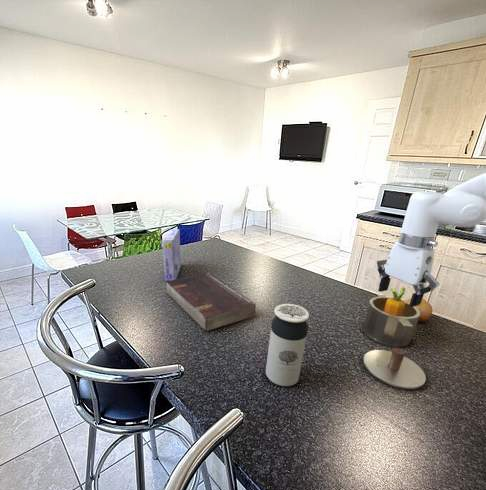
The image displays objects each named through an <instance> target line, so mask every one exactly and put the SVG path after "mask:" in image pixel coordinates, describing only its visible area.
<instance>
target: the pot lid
mask: <svg viewBox="0 0 486 490" xmlns="http://www.w3.org/2000/svg"><path fill="white" fill-rule="evenodd" d="M405 355H406V351H405V350H403V349H402V348H401V347H393V348H392V351H390V350H385V349H373V350H369V351H367V352H366V353H365V354H364V355H363V359H362V363H363V367H365V369H366V370H367V371H368V373H369V374H370V375H372V376H373V377H375V378H376V379H377V380H378V381H380V382H382V383H384V384H386V385H389V386H391V387H393V388H397V389H402V390H416V389H417V390H418V389H421V388H422V387H423V386H424V385H425V383H426V380H427V376H426V373H425V372H424V370H423V369H422V368H421V367H420V366H419V364H417V363H416V362H414V361H413V360H411V359H410V358H409V357H406V356H405Z"/></svg>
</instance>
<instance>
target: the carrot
mask: <svg viewBox="0 0 486 490" xmlns="http://www.w3.org/2000/svg"><path fill="white" fill-rule="evenodd" d="M406 290H407V289H406V288H405V287H402V288H401V289H400V291H399V294H398V292H397V291H396V290H395V289H394V288H390V291H391V292H392V295H393V297H391V298H388V299H387V302H386V305H385V309H384V312H386V313H388V314H391V315H395V316H400V317H401V315H402V313H403V310H404V307H405V302H404V301H405V300H403V299H402V297H403V296H404V295H405V292H406ZM402 300H403V301H402Z"/></svg>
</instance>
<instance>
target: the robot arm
mask: <svg viewBox="0 0 486 490" xmlns="http://www.w3.org/2000/svg"><path fill="white" fill-rule="evenodd" d="M485 220H486V172H484V173H482V174H479V175H477V176H475V177H472V178H470V179H469V180H466V181H464V182H463V183H461V184H459V185H456V186H454V187H453V188H451V189H449V190H447V191H446V192H444V193H442V192H437V191H425V190H424V191H423V190H421V191H415V192H413V193H412V194H411V195H410V197H409V201H408V205H407V208H406V211H405V215H404V219H403V222H402V226H401V229H400V233H399V236H398V240H397V241H395V243H394V244H393V246H392V248H391V250H390V252H389V254H388V257H387V259H381V260H377V261H376V265H377V266H376V267H377V272H378V274H379V278H380V281H379V285H378V289H377V291H378V292H381V293H382V292H386V291H388V290H389V287H390V283H391V278H394V279H396V280H398V281H401V282H404V283H405V284H408V285H410V286H412V288H413V289H414V293H412V295H411V298H410V299H411V301H410V304H409V306H410V307H414V306H418V305H419V304H420V303H421V301H422V299H424V295H425V294H427V293H431V292H433V291H434V290H435V289H436V288H438V287H439V286H440V282H439V280H437V279H436V278H435V277H434V275H432V274H431V273H432V269H433V265H434V258H435V249H434V248H436V247H437V246H438V245H439V242H438V241H436V240H435V239H436V234H437V231H438V229H439V225H440V224H442V225H443V224H444V225H448V226H454V227H459V228H470V227H475V226H477V225H480V224H481V223H483V222H484V221H485ZM432 247H433V248H432ZM427 283H428V286H426V285H425V284H427Z"/></svg>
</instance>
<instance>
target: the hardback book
mask: <svg viewBox="0 0 486 490" xmlns="http://www.w3.org/2000/svg"><path fill="white" fill-rule="evenodd" d="M165 281H166V280H165ZM165 283H166V293H167V294H168V295H169V296H170V297H171V298H172V299H173V300H174V301H175V302H176V303H177V304H178V305H179V306H180V307H181V308H182V309H183V310H184V312H186V313H187V314H188V315H189V316H190V317H191V318H192V319H193V320H194V321H195V322H196V323H197V324H198V325H199V326H200V327H201V328H203V330H204V331H206V332H208V331H211V330H214V329H218V328H221V327H224V326H227V325H230V324H234V323H237V322H239V321H244V320H246V319H250V318H252V317H254V316H255V315H256V306H257V305H256V303H255V302H254V301H252V300H250V299H249V298H248V297H246V296H244V295H243V294H241V293H240V292H238V291H237V290H235V289H234V288H232V287H231V286H229V285H228V284H226V283H225V282H224V281H222V280H220V279H218V277H216V276H214V275H213V274H211V273H210V272H206V273H202V274H196V275H191V276H187V277H181V278H176V280H171V281H166V282H165Z"/></svg>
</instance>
